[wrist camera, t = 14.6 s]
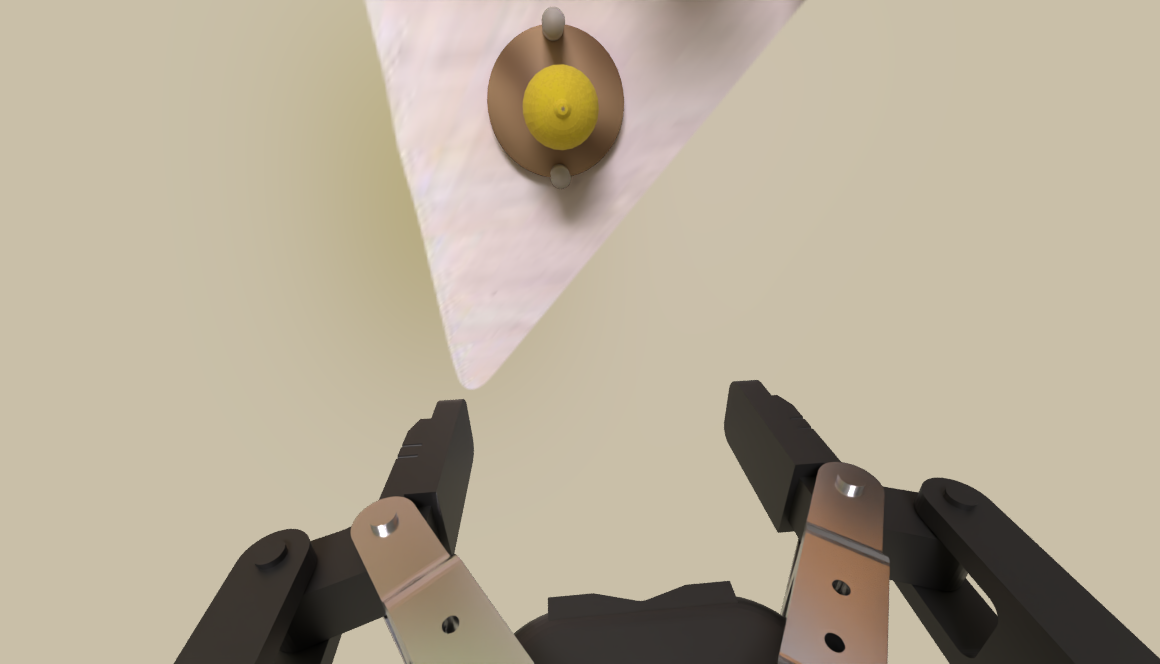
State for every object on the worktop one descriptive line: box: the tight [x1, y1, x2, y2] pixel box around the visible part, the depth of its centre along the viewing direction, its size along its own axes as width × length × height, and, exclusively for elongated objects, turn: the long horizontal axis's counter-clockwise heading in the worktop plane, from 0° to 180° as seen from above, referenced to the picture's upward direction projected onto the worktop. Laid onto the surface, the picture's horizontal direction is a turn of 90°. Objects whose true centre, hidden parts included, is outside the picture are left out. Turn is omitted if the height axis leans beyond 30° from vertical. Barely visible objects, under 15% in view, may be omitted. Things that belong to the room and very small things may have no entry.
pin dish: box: [487, 7, 624, 189], centre depth 34 cm, size 11×11×4 cm
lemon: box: [523, 64, 599, 150], centre depth 32 cm, size 6×6×8 cm
